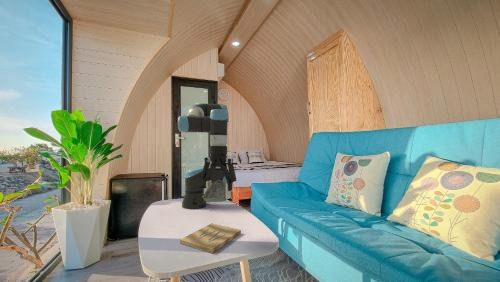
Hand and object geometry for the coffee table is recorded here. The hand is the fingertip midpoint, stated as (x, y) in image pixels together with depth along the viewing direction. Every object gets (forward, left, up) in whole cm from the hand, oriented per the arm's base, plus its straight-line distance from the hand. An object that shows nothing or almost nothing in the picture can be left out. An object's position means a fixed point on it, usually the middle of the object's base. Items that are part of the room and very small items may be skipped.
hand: (218, 196), depth 94 cm
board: (+4, 0, -16) cm, 17 cm away
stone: (0, -1, -2) cm, 2 cm away
